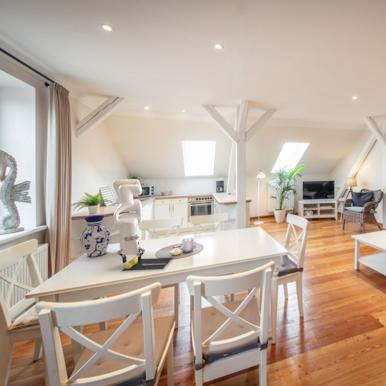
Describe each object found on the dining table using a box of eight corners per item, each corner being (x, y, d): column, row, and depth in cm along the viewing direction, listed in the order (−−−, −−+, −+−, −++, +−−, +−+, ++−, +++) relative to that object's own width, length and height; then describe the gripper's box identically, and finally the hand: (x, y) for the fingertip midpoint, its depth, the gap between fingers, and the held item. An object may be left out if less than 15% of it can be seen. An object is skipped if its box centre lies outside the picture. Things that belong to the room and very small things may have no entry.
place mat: (136, 259, 166) (136, 259, 166) (172, 258, 169) (172, 257, 169) (121, 271, 146) (121, 270, 146) (162, 269, 149) (162, 269, 149)
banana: (135, 260, 162) (135, 255, 162) (141, 260, 163) (141, 255, 162) (123, 270, 147) (123, 264, 147) (130, 269, 148) (129, 264, 147)
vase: (81, 261, 162) (78, 221, 159) (80, 254, 176) (77, 216, 173) (113, 254, 175) (110, 217, 172) (110, 248, 189) (107, 213, 186)
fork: (141, 266, 154) (141, 265, 154) (142, 264, 156) (142, 263, 156) (164, 265, 156) (164, 264, 156) (166, 263, 158) (166, 263, 158)
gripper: (146, 235, 157) (147, 259, 159) (120, 236, 155) (121, 260, 157) (141, 239, 150) (142, 263, 151) (113, 240, 148) (115, 264, 149)
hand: (132, 262), depth 154 cm, fingers open, 9 cm apart
